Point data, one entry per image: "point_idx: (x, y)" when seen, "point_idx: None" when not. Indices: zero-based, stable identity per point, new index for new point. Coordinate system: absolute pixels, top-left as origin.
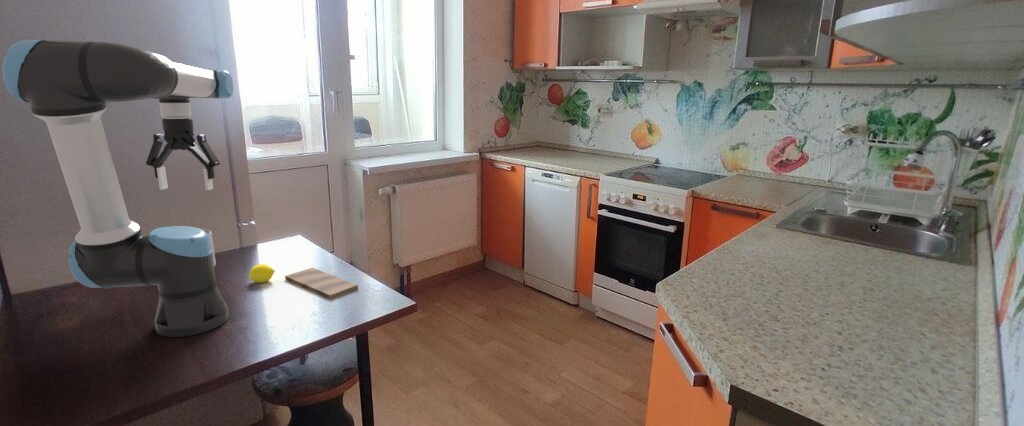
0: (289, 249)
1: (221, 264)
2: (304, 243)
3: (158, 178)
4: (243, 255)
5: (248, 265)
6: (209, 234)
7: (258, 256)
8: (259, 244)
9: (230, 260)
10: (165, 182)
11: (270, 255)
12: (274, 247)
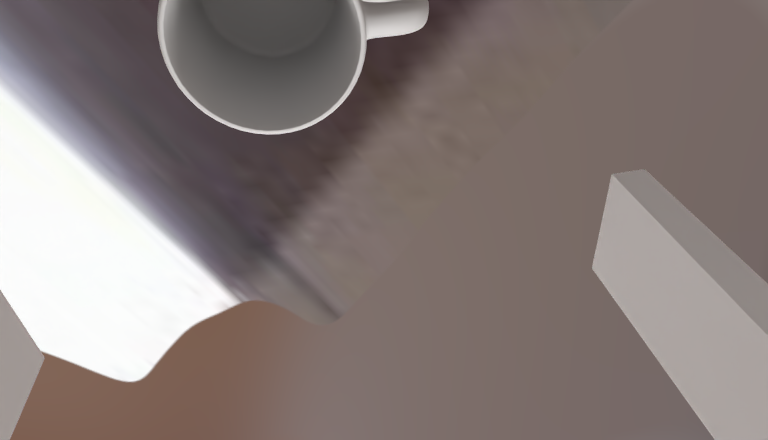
0: (31, 274)
1: None
2: None
3: (748, 272)
4: (181, 170)
5: (27, 45)
6: (162, 52)
7: (95, 171)
8: (223, 297)
9: None
10: (639, 295)
11: (48, 193)
12: (125, 281)
